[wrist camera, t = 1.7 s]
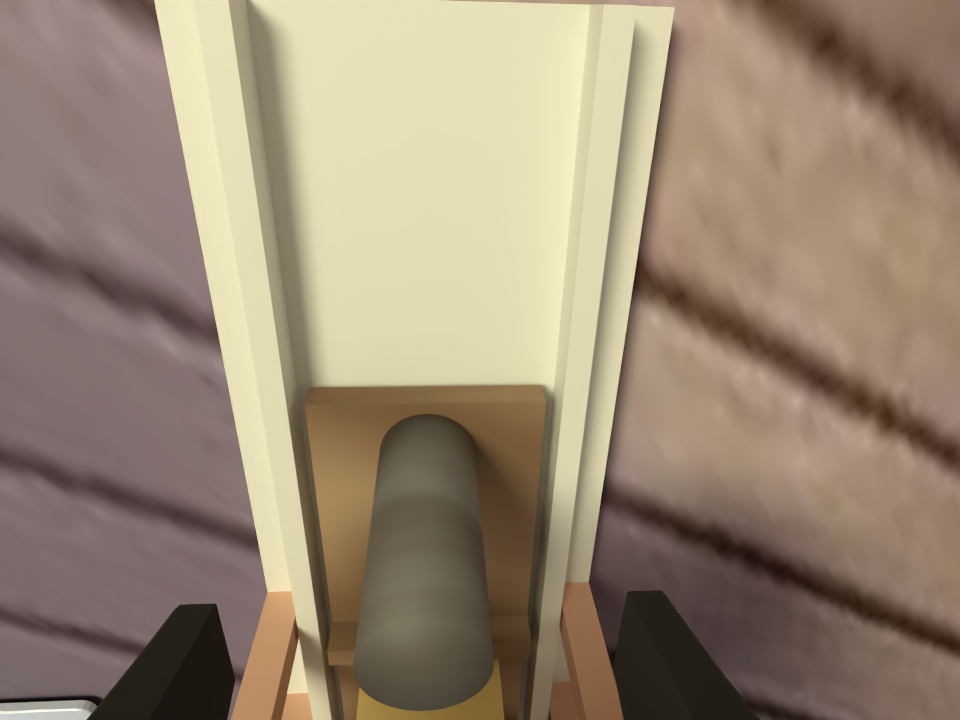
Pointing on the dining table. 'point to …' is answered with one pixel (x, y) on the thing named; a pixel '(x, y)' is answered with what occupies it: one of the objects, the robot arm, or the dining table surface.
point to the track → (419, 267)
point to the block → (473, 716)
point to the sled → (427, 537)
